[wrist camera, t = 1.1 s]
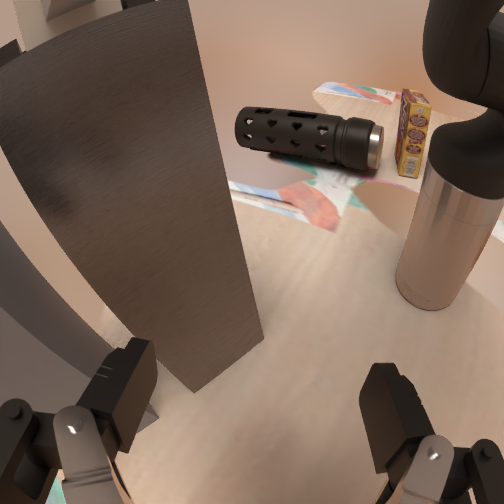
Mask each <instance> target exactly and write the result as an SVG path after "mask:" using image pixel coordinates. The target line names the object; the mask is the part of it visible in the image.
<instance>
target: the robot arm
mask: <svg viewBox="0 0 504 504" xmlns="http://www.w3.org/2000/svg"><path fill="white" fill-rule="evenodd" d="M503 5H504V0H430V3H429V7H428V11H427V16H426V20H425V26H424V33H423V60H424V65H425V69H426V72H427V74H428V77H429V78H430V80H431V82H432V83H433V84H434V85H435V86H436V87H437V88H438V89H439V90H441V91H442V92H444V93H446V94H448V95H451V96H453V97H455V98H458V99H460V100H464V101H468V102H471V103H474V104H477V105H481V106H484V107H487V108H488V109H487V111H486V112H485V113H484V114H482V115H481V116H479V117H477V118H474V119H472V120H468V121H462V122H454V123H448V124H444V125H441V126H439V127H438V128H437V129H436V130H435V131H434V132H433V134H432V137H431V141H430V146H429V151H428V157H427V162H426V167H425V171H424V176H423V181H422V185H421V189H420V193H419V197H418V201H417V205H416V209H415V212H414V216H413V220H412V223H411V226H410V230H409V233H408V237H407V240H406V243H405V246H404V249H403V252H402V255H401V258H400V261H399V264H398V267H397V270H396V283H397V286H398V288H399V290H400V292H401V293H402V295H403V296H404V297H405V298H406V299H407V300H408V301H409V302H410V303H412V304H413V305H415V306H417V307H419V308H422V309H425V310H439V309H443V308H445V307H447V306H448V305H449V304H450V303H451V302H452V301H453V300H454V298H455V296H456V295H457V293H458V292H459V290H460V289H461V287H462V285H463V284H464V282H465V281H466V279H467V277H468V275H469V273H470V272H471V270H472V269H473V267H474V265H475V263H476V261H477V260H478V258H479V256H480V254H481V252H482V250H483V248H484V247H485V244H486V243H487V241H488V239H489V237H490V235H491V233H492V230H493V228H494V226H495V224H496V222H497V220H498V218H499V215H500V213H501V211H502V208H503V206H504V13H501V12H499V10H500V9H501V8H502V6H503ZM156 382H157V364H156V356H155V348H154V343H153V341H151V340H146V339H141V338H136V337H132V338H131V339H130V341H129V342H128V344H127V346H126V347H125V349H122V348H117V349H115V350H114V351H112V352H111V353H109V354H108V355H107V356H106V358H105V359H104V361H103V362H102V364H101V367H99V369H98V370H97V372H96V375H94V376H93V378H92V379H91V381H90V383H89V384H88V386H87V387H86V389H85V391H84V392H83V394H82V395H81V397H80V399H79V400H78V402H77V403H76V405H72V406H67V407H64V408H62V409H61V410H60V411H58V412H57V414H54V413H44V412H36V411H33V410H32V408H31V406H30V405H29V403H28V402H26V401H25V400H23V399H19V398H14V399H10V400H8V401H6V402H5V403H3V404H2V406H1V407H0V504H45V503H46V500H47V498H48V495H49V492H50V490H51V487H52V485H53V482H54V480H55V477H56V475H57V472H58V470H59V469H63V472H64V476H65V480H62V490H63V493H64V497H65V500H66V503H67V504H135V503H134V501H133V499H132V497H131V495H130V493H129V491H128V489H127V487H126V485H125V482H124V480H123V478H122V475H121V473H120V471H119V468H118V466H117V463H116V461H115V457H116V455H117V452H118V451H121V452H125V453H129V450H130V448H131V445H132V442H133V440H134V437H135V435H136V432H137V430H138V427H139V425H140V422H141V420H142V417H143V415H144V412H145V410H146V407H147V405H148V403H149V400H150V398H151V395H152V393H153V390H154V388H155V385H156ZM417 395H418V394H417V392H416V390H415V387H414V385H413V384H412V383H411V382H410V381H409V380H408V379H407V378H406V377H405V376H404V375H401V376H400V374H399V372H398V369H397V367H396V365H395V364H394V363H374V364H373V365H372V367H371V369H370V371H369V374H368V376H367V378H366V380H365V382H364V385H363V387H362V389H361V391H360V395H359V406H360V409H361V413H362V417H363V421H364V425H365V429H366V432H367V436H368V440H369V445H370V449H371V453H372V457H373V461H374V466H375V470H376V474H379V473H386V472H387V473H388V477H389V478H388V479H387V480H386V481H385V483H384V485H383V486H382V488H381V490H380V492H379V493H378V495H377V497H376V498H375V500H374V502H373V503H372V504H472V502H471V499H470V495H469V492H468V490H469V489H470V488H472V489H473V492H474V496H475V499H476V503H477V504H504V459H503V457H502V455H501V452H500V450H499V448H498V446H497V445H496V444H495V443H494V442H493V441H491V440H488V439H481V440H478V441H477V442H476V443H475V444H474V445H473V446H472V447H471V448H460V447H453V446H452V444H451V443H450V442H449V441H448V440H447V439H446V438H445V437H442V436H440V435H436V434H435V432H434V430H433V428H432V425H431V423H430V421H429V418H428V416H427V414H426V411H425V409H424V407H423V405H421V400H420V398H419V396H417Z"/></svg>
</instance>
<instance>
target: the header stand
mask: <svg viewBox="0 0 504 504" xmlns="http://www.w3.org/2000/svg"><path fill="white" fill-rule="evenodd" d="M120 1H121V5H122V9H123V10H122V11H119V12H116V13H113V14H110V15H107V16H104V17H101V18H99V19H96V20H93V21H91V22H88V23H86V24H83V25H81V26H78V27H76V28H74V29H71V30H69V31H67V32H65V33H62V34H60V35H58V36H56V37H54V38H52V39H50V40H48V41H46V42H44V43H42V44H40V45H38V46H36V47H34V48H33V49H31V50H29V51H27V52H26V51H24V52H22V51H21V49H20V46H19V44H18V42H17V39H15V40H13V41H11V42H10V43H8V44H6V45H5V46H3V47H2V48H0V146H1V148H2V150H3V152H4V154H5V156H6V158H7V160H8V162H9V164H10V166H11V168H12V169H13V171H14V173H15V175H16V177H17V179H18V180H19V182H20V184H21V186H22V187H23V189H24V191H25V192H26V194H27V196H28V198H29V199H30V201H31V202H32V204H33V206H34V207H35V209H36V210H37V212H38V213H39V215H40V217H41V218H42V220H43V221H44V223H45V224H46V226H47V227H48V229H49V230H50V232H51V233H52V235H53V236H54V238H55V239H56V240H57V242H58V243H59V245H60V246H61V248H62V249H63V250H64V252H65V253H66V255H67V256H68V257H69V259H70V260H71V261H72V263H73V264H74V265H75V266H76V268H77V269H78V270H79V272H80V273H81V274H82V276H83V277H84V278H85V279H86V281H87V282H88V283H89V284H90V286H91V287H92V288H93V289H94V291H95V292H96V293H97V294H98V295H99V297H100V298H101V299H102V300H103V301H104V303H105V304H106V305H107V306H108V307H109V308H110V310H111V311H112V312H113V313H114V314H115V315H116V316H117V317H118V319H119V320H120V321H121V322H122V323H123V324H124V325H125V326H126V327H127V328H128V330H129V331H130V332H131V333H132V334H133V335H134V336H135V337H136V338H141V339H146V340H151V341H153V343H154V348H155V356H156V358H157V359H158V360H159V361H160V362H161V363H162V364H163V365H164V366H165V367H166V368H167V369H168V370H169V371H170V372H171V373H172V374H173V375H174V376H175V377H177V378H178V379H179V380H180V381H181V382H182V383H183V384H184V385H185V386H186V387H188V388H189V389H190V390H191V391H192V392H193V393H195V392H196V391H198V390H199V389H200V388H202V387H203V386H204V385H206V384H207V383H208V382H210V381H211V380H212V379H214V378H215V377H216V376H218V375H219V374H220V373H222V372H223V371H224V370H225V369H227V368H228V367H229V366H231V365H232V364H233V363H234V362H236V361H237V360H238V359H239V358H241V357H242V356H243V355H244V354H246V353H247V352H248V351H249V350H251V349H252V348H253V347H254V346H256V345H257V344H258V343H259V342H260V341H262V340H263V339H264V336H263V332H262V328H261V324H260V319H259V315H258V311H257V307H256V302H255V298H254V294H253V290H252V285H251V281H250V277H249V273H248V268H247V264H246V260H245V255H244V251H243V247H242V242H241V238H240V234H239V229H238V225H237V221H236V216H235V212H234V208H233V203H232V199H231V195H230V190H229V186H228V181H227V177H226V172H225V168H224V164H223V159H222V155H221V150H220V146H219V142H218V137H217V133H216V128H215V123H214V119H213V115H212V110H211V106H210V101H209V96H208V92H207V87H206V83H205V78H204V73H203V69H202V65H201V60H200V55H199V50H198V46H197V42H196V36H195V32H194V27H193V22H192V18H191V13H190V8H189V4H188V0H158V1H155V0H120Z"/></svg>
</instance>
